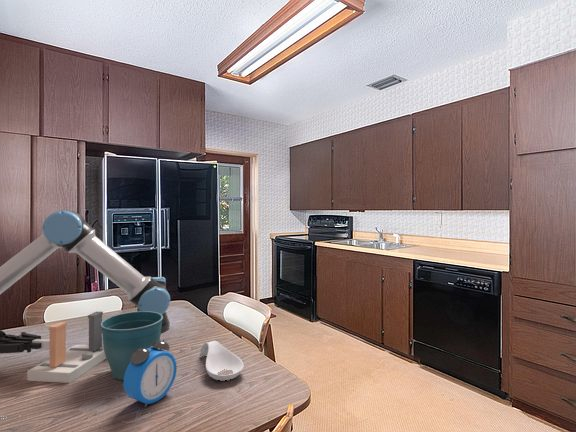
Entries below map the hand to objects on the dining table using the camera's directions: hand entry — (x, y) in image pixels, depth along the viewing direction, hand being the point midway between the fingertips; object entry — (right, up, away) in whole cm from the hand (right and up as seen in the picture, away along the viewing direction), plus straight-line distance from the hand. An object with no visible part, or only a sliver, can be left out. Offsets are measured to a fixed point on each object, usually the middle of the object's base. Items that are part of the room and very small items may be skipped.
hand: (53, 344), depth 102 cm
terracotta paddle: (+1, -6, 0) cm, 6 cm away
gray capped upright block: (+6, -6, +12) cm, 15 cm away
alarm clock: (+36, -10, -13) cm, 40 cm away
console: (+2, -10, +6) cm, 12 cm away
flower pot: (+24, -10, +3) cm, 26 cm away
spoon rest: (+51, -10, +5) cm, 52 cm away
